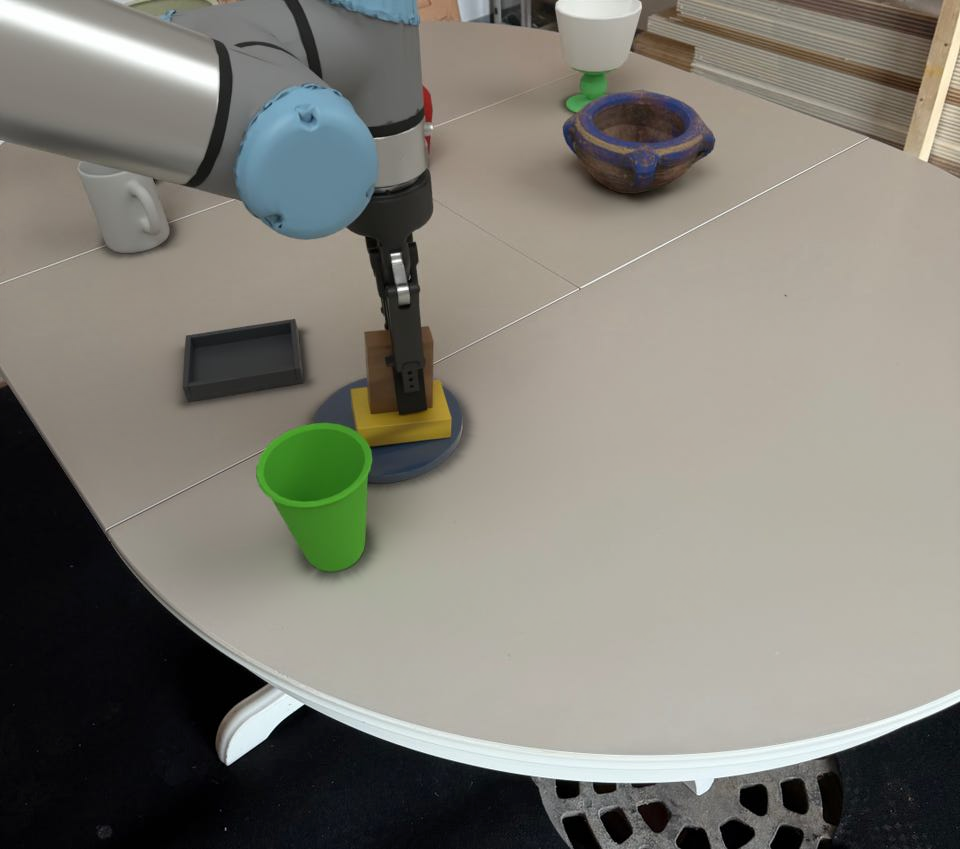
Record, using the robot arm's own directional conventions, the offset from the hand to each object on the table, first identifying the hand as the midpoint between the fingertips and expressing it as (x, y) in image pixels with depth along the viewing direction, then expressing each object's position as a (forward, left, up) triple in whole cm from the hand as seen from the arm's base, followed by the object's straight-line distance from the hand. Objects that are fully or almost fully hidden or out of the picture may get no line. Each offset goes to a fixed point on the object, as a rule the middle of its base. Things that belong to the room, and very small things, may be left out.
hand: (410, 399), depth 80 cm
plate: (-2, +1, -4) cm, 5 cm away
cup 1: (-9, -13, -4) cm, 17 cm away
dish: (-16, +15, -4) cm, 23 cm away
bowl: (+40, +44, -4) cm, 59 cm away
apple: (+8, +58, -4) cm, 59 cm away
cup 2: (+43, +72, -4) cm, 84 cm away
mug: (-29, +46, -4) cm, 55 cm away
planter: (-21, +65, -4) cm, 69 cm away
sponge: (-1, 0, -3) cm, 3 cm away
